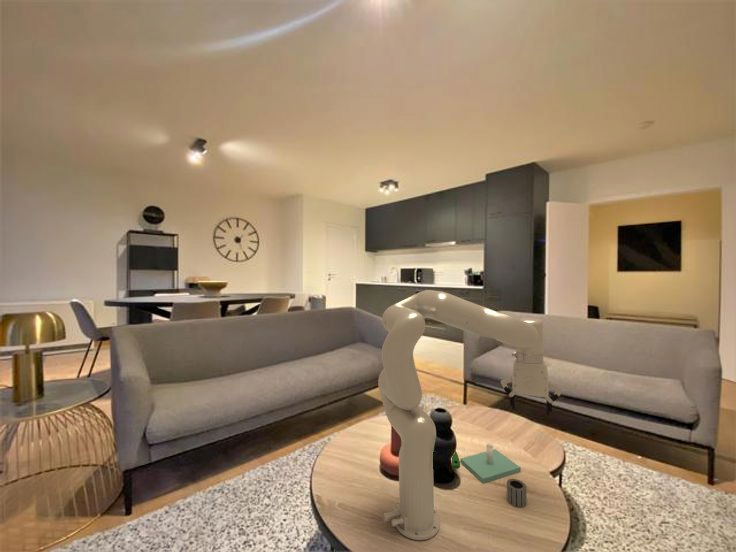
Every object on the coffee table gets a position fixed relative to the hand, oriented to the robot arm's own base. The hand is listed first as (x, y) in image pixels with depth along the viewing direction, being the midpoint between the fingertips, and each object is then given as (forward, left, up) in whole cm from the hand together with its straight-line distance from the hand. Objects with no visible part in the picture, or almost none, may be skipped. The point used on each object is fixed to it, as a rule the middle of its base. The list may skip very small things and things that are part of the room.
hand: (530, 410), depth 101 cm
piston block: (-4, +14, -25) cm, 29 cm away
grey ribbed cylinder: (-8, -2, -25) cm, 26 cm away
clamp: (-21, +18, -25) cm, 38 cm away
